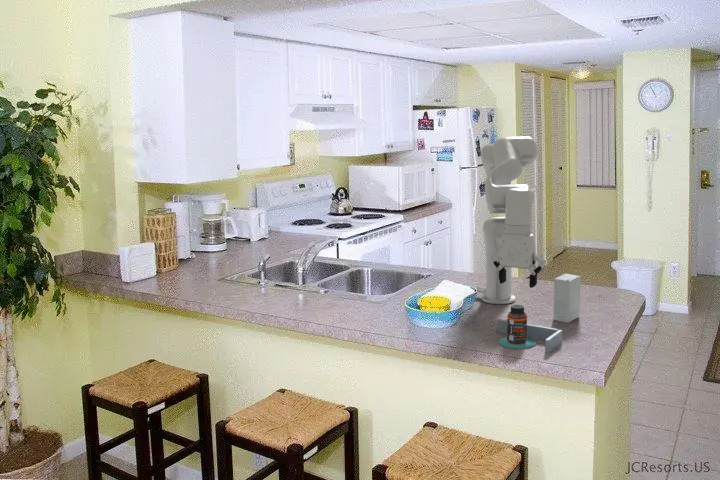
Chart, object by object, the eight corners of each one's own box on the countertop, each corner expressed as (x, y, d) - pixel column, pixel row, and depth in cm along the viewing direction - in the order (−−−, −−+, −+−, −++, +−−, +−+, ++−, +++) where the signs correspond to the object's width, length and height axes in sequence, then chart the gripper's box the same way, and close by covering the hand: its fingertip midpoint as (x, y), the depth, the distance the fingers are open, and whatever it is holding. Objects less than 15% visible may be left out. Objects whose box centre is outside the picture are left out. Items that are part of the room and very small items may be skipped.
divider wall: (482, 341, 215) (482, 328, 214) (498, 331, 224) (498, 319, 223) (548, 353, 202) (548, 340, 202) (562, 342, 211) (562, 329, 211)
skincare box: (564, 314, 239) (564, 272, 237) (580, 317, 235) (581, 275, 232) (552, 320, 233) (553, 277, 231) (569, 323, 229) (570, 280, 226)
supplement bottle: (513, 345, 209) (513, 310, 207) (503, 339, 215) (503, 304, 212) (530, 343, 211) (530, 307, 209) (520, 337, 216) (520, 302, 214)
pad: (493, 344, 211) (493, 344, 211) (508, 335, 220) (508, 334, 220) (526, 351, 205) (526, 350, 205) (541, 340, 213) (541, 339, 213)
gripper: (486, 229, 208) (486, 283, 212) (540, 234, 198) (539, 291, 201) (497, 225, 214) (496, 278, 217) (550, 229, 204) (549, 285, 207)
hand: (517, 284), depth 209 cm, fingers open, 9 cm apart
